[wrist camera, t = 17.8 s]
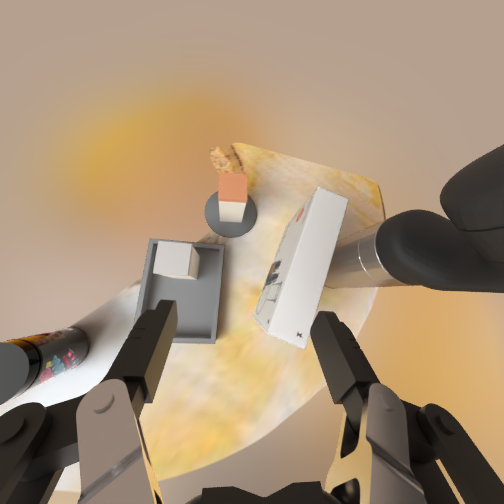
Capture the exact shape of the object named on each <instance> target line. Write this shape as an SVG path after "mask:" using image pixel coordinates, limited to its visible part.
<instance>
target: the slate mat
mask: <svg viewBox="0 0 504 504" xmlns="http://www.w3.org/2000/svg"><path fill="white" fill-rule="evenodd" d="M256 216H257V212H256V207H255V204H254V202H253V201H252V199H251V198H250V197H249V196H248V195H247V203H246V206H245V210H244V214H243V218H242V222H223V221H220V214H219V201H218V192H216V193H214V194H213V195H212V196H211V197H210V198H209V199H208V201H207V203H206V206H205V217H206V221H207V223H208V225H209V226H210V228H211V229H212V230H213V231H215V232H216V233H218V234H219V235H222V236H225V237H238V236H241V235H244V234H245V233H247V232H248V231H249V230H250V229H251V228H252V227H253V225H254V223H255V220H256Z"/></svg>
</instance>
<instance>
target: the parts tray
mask: <svg viewBox="0 0 504 504" xmlns="http://www.w3.org/2000/svg"><path fill="white" fill-rule="evenodd" d="M158 241H165V242H176V243H187V244H192V245H193V247H194V249H195V250H196V252H197V253H198V255H199V256H200V261H199V270H198V278H197V280H194V279H178V278H171V277H167V276H163V275H160V274H154V273H153V270H154V264H155V258H156V252H157V247H158ZM223 256H224V245H217V244H206V243H194V242H184V241H173V240H162V239H151V238H150V239H149V244H148V250H147V255H146V260H145V266H144V271H143V276H142V282H141V287H140V293H139V298H138V303H137V309H136V314H135V319H134V325H135V323H136V321H137V319H138V318H139V317H140V316H141V315H142V314H143V313H144V312H145V311H146V310H147V309H150V310H155V309H156V306H157V304H158V302H159V301H160V300H161V299H163V300H176V302H177V315H178V323H177V329H176V332H175V335H174V338H173V341H172V343H197V344H215V341H216V332H217V321H218V310H219V299H220V288H221V278H222V267H223ZM134 325H133V326H134Z"/></svg>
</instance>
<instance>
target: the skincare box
mask: <svg viewBox="0 0 504 504" xmlns="http://www.w3.org/2000/svg"><path fill="white" fill-rule="evenodd" d="M348 201H349V199H348V198H345V197H343V196H340V195H338V194H336V193H333V192H331V191H329V190H326V189H324V188H321V187H318V188H317V190H316V191H315V192H314V193H313V194H312V195H311V197H310V198H309V199H308V200H307V201H306V203H305V204H304V205H303V206H302V208H301V209H300V210H299V211H298V212H297V214H296V215H295V216H294V217H293V219H292V220H291V221H290V222H289V223H288V225H287V226H286V228H285V231H284V233H283V236H282V239H281V241H280V244H279V247H278V249H277V252H276V255H275V257H274V260H273V263H272V265H271V268H270V270H269V273H268V276H267V278H266V281H265V284H264V286H263V289H262V292H261V294H260V297H259V300H258V302H257V305H256V308H255V310H254V313H253V316H252V317H253V318H254V319H255V320H256V321H257V322H258V324H259V325H260V326H261V327H262V328H263V329H264V330H265V331H266V333H267V334H268V335H270V336H273V337H275V338H277V339H280V340H282V341H285V342H287V343H289V344H292V345H294V346H297V347H299V348H302V349H305V348H306V345H307V341H308V338H309V335H310V329H311V326H312V324H313V321H314V317H315V314H316V311H317V307H318V304H319V300H320V297H321V293H322V290H323V287H324V283H325V280H326V276H327V273H328V270H329V266H330V263H331V259H332V256H333V253H334V249H335V246H336V242H337V239H338V235H339V232H340V228H341V225H342V222H343V218H344V215H345V211H346V208H347V204H348Z"/></svg>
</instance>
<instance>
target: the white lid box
mask: <svg viewBox="0 0 504 504" xmlns="http://www.w3.org/2000/svg"><path fill="white" fill-rule="evenodd" d="M199 261H200V256H199V255H198V253H197V252H196V250H195V249H194V247H193V245H192V244H187V243H176V242H165V241H158V247H157V252H156V258H155V264H154V270H153V273H154V274H160V275H163V276H167V277H171V278H178V279H194V280H197V278H198V270H199Z"/></svg>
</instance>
